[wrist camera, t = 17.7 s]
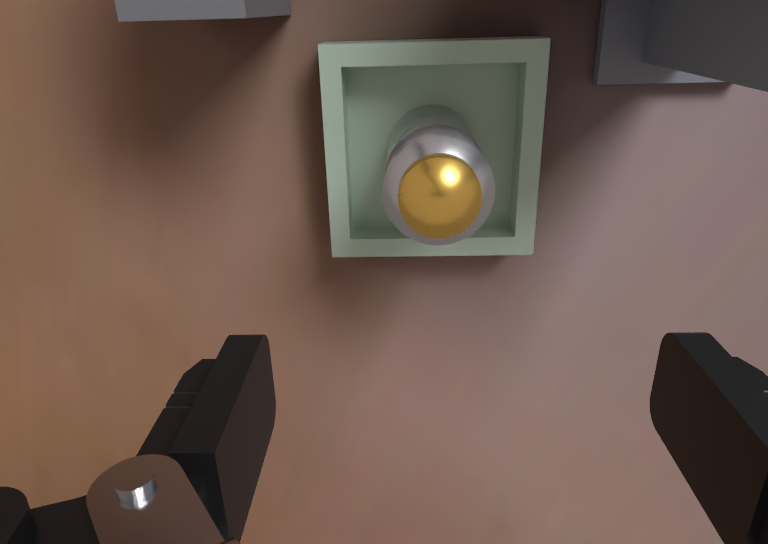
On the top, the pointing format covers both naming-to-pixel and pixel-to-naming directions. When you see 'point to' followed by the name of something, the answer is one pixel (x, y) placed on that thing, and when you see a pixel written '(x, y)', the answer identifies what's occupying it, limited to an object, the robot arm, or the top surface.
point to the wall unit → (682, 42)
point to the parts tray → (432, 87)
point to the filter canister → (436, 177)
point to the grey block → (198, 9)
